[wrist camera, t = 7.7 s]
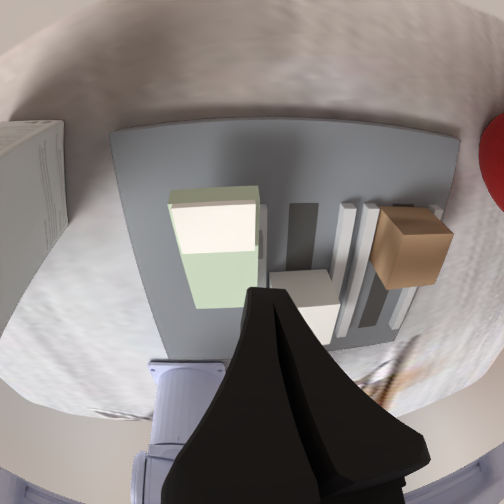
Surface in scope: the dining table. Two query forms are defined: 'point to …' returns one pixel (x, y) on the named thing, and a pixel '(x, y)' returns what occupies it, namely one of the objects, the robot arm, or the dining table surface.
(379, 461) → the robot arm
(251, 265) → the sage rocker
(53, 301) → the dining table surface
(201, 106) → the dining table surface
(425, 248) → the brown cube
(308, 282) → the white cube
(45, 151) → the skincare box
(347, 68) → the dining table surface
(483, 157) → the apple
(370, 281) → the control board
